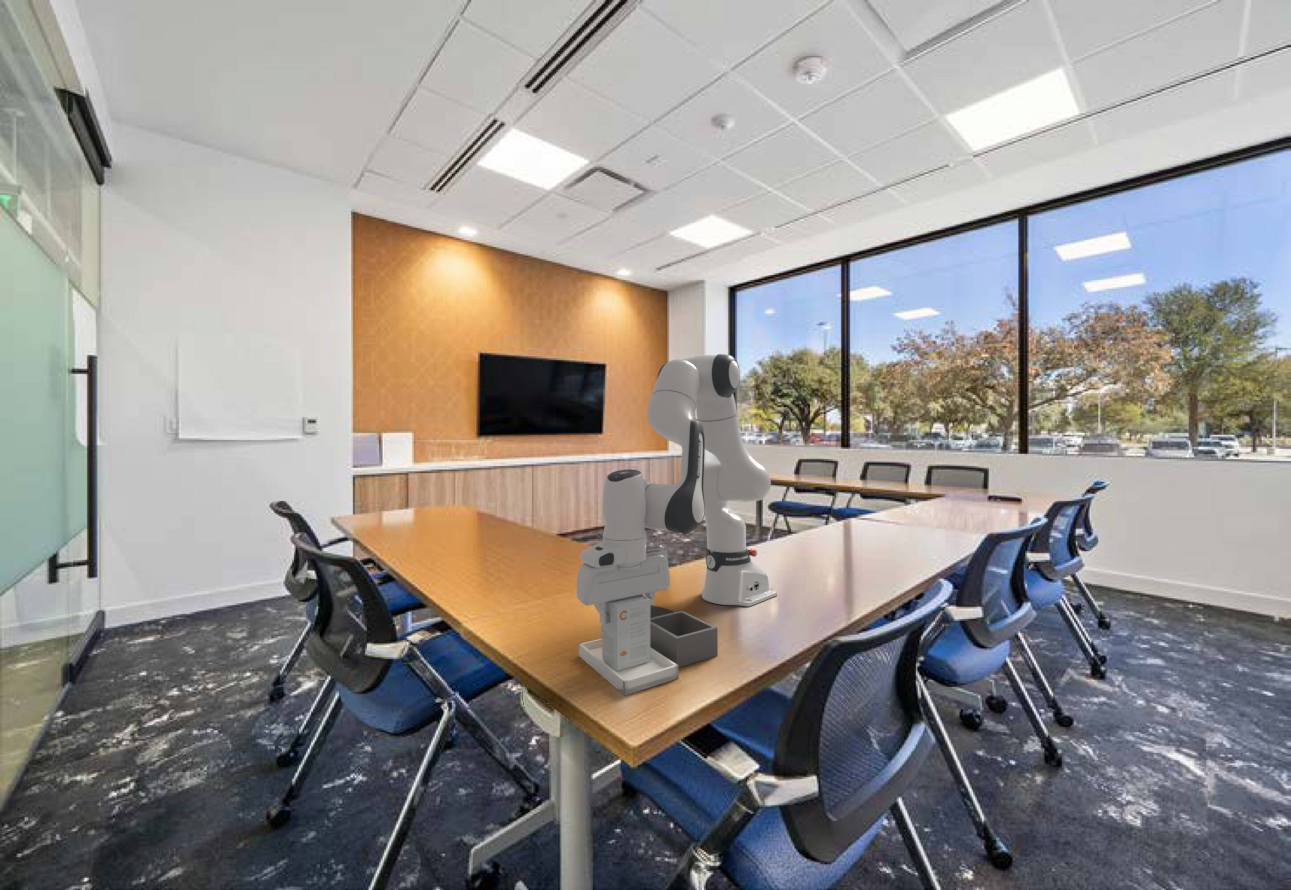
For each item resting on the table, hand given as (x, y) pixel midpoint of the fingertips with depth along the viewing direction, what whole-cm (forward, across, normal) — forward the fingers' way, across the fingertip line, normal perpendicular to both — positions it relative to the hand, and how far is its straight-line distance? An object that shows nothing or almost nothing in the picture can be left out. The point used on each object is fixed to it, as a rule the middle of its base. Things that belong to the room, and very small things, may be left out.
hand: (625, 618), depth 104 cm
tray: (+10, 0, 0) cm, 10 cm away
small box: (+9, 0, 0) cm, 9 cm away
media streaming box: (+10, -15, -18) cm, 26 cm away
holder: (+10, -14, 0) cm, 17 cm away
